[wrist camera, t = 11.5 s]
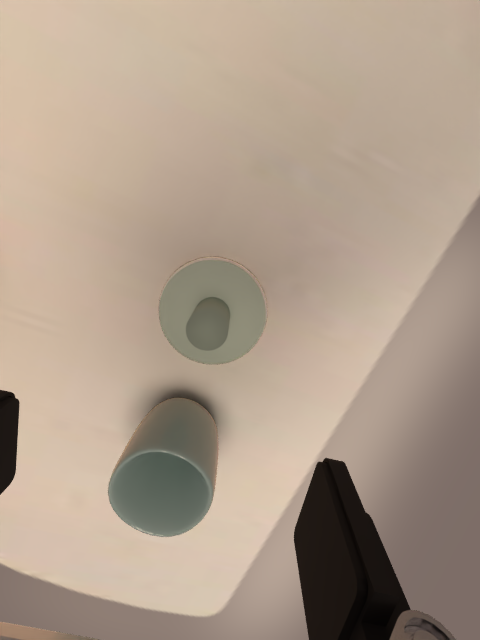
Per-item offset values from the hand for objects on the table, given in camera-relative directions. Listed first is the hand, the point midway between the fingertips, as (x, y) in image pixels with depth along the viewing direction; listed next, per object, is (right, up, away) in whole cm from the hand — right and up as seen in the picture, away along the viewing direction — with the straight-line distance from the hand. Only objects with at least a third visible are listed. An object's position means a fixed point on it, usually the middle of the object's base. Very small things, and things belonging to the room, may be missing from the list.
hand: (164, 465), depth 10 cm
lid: (0, +5, +21) cm, 21 cm away
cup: (-4, -6, +24) cm, 25 cm away
